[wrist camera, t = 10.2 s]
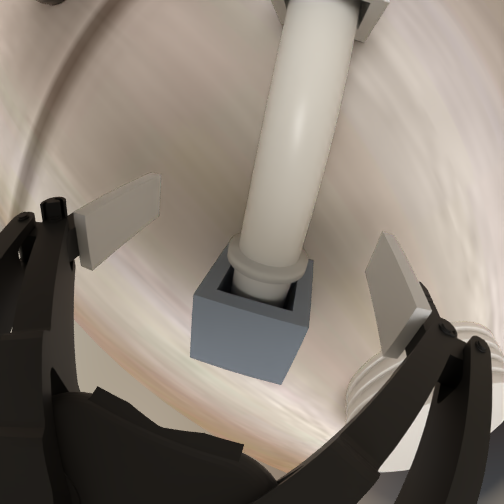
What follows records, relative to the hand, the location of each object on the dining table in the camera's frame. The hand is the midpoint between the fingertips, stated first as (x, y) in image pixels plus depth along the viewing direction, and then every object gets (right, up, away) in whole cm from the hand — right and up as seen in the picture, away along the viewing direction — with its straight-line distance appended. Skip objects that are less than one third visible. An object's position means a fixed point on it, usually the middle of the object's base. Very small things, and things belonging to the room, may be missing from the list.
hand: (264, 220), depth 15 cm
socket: (+1, -5, +16) cm, 17 cm away
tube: (+3, +7, +6) cm, 10 cm away
